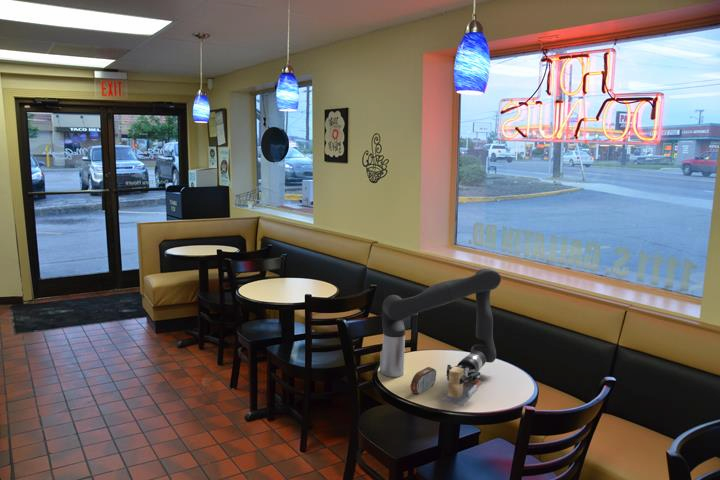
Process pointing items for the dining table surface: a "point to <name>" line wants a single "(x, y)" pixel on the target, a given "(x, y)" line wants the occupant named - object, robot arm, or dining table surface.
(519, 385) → the dining table surface
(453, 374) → the oak block
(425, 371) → the tin
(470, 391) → the long grey tray
